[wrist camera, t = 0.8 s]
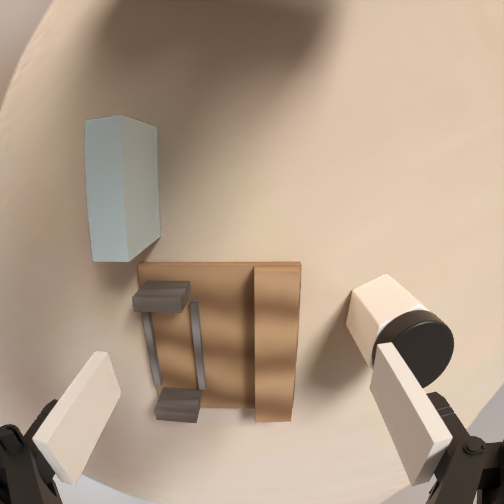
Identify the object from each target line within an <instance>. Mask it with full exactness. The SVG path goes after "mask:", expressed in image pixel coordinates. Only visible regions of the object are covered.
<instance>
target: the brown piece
mask: <svg viewBox="0 0 504 504" xmlns="http://www.w3.org/2000/svg"><path fill="white" fill-rule="evenodd" d="M137 268H138V276H139V285H140V289H139V290H138V291H137V292H136V294H135V295H134V296H133V297H132V301H133V308H134V311H139V312H142V318H143V324H144V330H145V336H146V342H147V348H148V353H149V358H150V364H151V369H152V374H153V378H154V383H155V386H156V387H157V391H158V395H159V400H158V403H157V406H156V408H155V415H156V419H157V420H166V421H176V422H189V423H197V418H198V413H199V409H200V407H214V408H255V422H288V421H291V414H292V407H293V399H294V387H295V374H296V360H297V345H298V328H299V310H300V288H301V263H300V262H141V263H139V264H138V265H137Z"/></svg>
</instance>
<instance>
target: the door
mask: <svg viewBox="0 0 504 504" xmlns="http://www.w3.org/2000/svg"><path fill="white" fill-rule="evenodd" d="M85 178H86V196H87V210H88V222H89V232H90V241H91V249H92V257H93V262H129V261H131V260H132V259H133V258H134V257H136V256H137V255H138V254H139V253H141V252H142V251H143V250H144V249H146V248H147V247H148V246H149V245H151V244H152V243H153V242H155V241H156V240H157V239H158V238H160V237H161V225H160V208H159V186H158V147H157V127H155V126H152V125H150V124H147V123H144V122H142V121H139V120H136V119H133V118H131V117H128V116H125V115H122V114H121V115H115V116H108V117H102V118H96V119H91V120H85Z"/></svg>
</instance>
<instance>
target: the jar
mask: <svg viewBox="0 0 504 504" xmlns="http://www.w3.org/2000/svg"><path fill="white" fill-rule="evenodd" d="M346 326H347V328H348V329H349V331H350V333H351V335H352V337H353V339H354V341H355V343H356V344H357V346H358V348H359V350H360V352H361V354H362V356H363V358H364V360H365V362H366V363H367V365H368V367H370V368H372V369H373V368H374V362H375V356H376V350H377V344H383V343H391V342H392V344H393V345H394V347H395V348H396V349H397V351H398V352H399V354H400V355H401V357H402V358H403V360H404V361H405V363H406V364H407V366H408V367H409V369H410V370H411V372H412V373H413V375H414V376H415V378H416V379H417V381H418V383H419V384H420V386H421V387H422V389H423V388H425V387H426V386H428V385H429V384H431V383H432V382H433V381H435V380H436V379H437V378H438V377H439V376H440V375H441V374H442V372H443V371H444V370H445V368H446V367H447V365H448V363H449V362H450V359H451V357H452V354H453V349H454V338H453V334H452V332H451V330H450V329H449V327H448V326H447V325H446V324H445V323H444V322H443V321H441V320H440V319H439V318H438V317H437V316H436V315H435V314H433V313H432V312H431V311H430V310H429V309H428V308H427V307H426V306H425V305H423V304H422V303H421V302H420V301H419V300H418V299H417V298H416V297H415V296H414V295H412V294H411V293H410V292H409V291H408V290H407V289H405V288H404V287H403V286H402V285H400V284H399V283H398V282H397V281H395V280H394V279H393V278H391V277H390V276H389V275H388V274H384V275H382V276H380V277H378V278H376V279H374V280H372V281H370V282H368V283H366V284H364V285H361V286H359V287H357V288H355V289H353V290H352V295H351V300H350V305H349V310H348V315H347V320H346Z"/></svg>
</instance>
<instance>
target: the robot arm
mask: <svg viewBox="0 0 504 504" xmlns="http://www.w3.org/2000/svg"><path fill="white" fill-rule="evenodd" d="M370 390H371V392H372V394H373V396H374V399H375V401H376V403H377V405H378V407H379V410H380V412H381V414H382V416H383V419H384V421H385V423H386V426H387V428H388V430H389V433H390V435H391V437H392V440H393V442H394V444H395V447H396V449H397V451H398V454H399V456H400V458H401V461H402V463H403V466H404V468H405V471H406V473H407V475H408V478H409V480H410V483H411V485H412V486H415V485H419V484H422V483H425V482H428V481H429V480H430V479H431V477H432V475H433V474H435V476H436V478H437V481H436V483H435V484H434V486H433V487H432V489H431V491H430V492H429V494H430V496H429V498H428V500H427V502H426V504H473V501H474V498H475V495H476V491H477V504H504V440H503V442H496V443H485V442H484V441H483V440H482V439H481V438H478V437H475V436H470V435H469V434H468V432H467V431H466V429H465V428H464V426H463V424H462V423H461V421H460V420H459V418H458V417H457V415H456V414H454V411H453V410H452V408H451V407H450V405H449V404H448V402H447V401H446V399H445V398H444V397H443V396H441V395H440V394H438V393H437V392H432V393H428V394H426V393H425V392H424V390H423V389H422V387H421V386H420V384H419V383H418V381H417V379H416V378H415V376H414V375H413V373H412V372H411V370H410V369H409V367H408V366H407V364H406V363H405V361H404V360H403V358H402V357H401V355H400V354H399V352H398V351H397V349H396V348H395V347H394V345H393V344H392V342H391V343H383V344H377V350H376V356H375V362H374V368H373V374H372V379H371V385H370ZM120 396H121V391H120V388H119V385H118V382H117V379H116V376H115V373H114V370H113V367H112V363H111V360H110V357H109V353H108V352H101V351H95V352H94V354H93V355H92V356H91V357H90V359H89V360H88V361H87V363H86V364H85V365H84V367H83V368H82V369H81V371H80V372H79V373H78V375H77V376H76V377H75V379H74V380H73V381H72V383H71V384H70V386H69V387H68V388H67V390H66V391H65V392H64V394H63V395H62V397H61V398H60V399H59V400H55V399H54V400H53V401H51V402H50V403H49V404H47V405H46V406H45V407H44V409H43V410H42V411H41V414H39V416H38V417H37V420H35V421H34V423H33V424H32V425H31V427H30V428H29V429H28V431H27V432H26V434H25V435H24V437H23V435H22V433H21V432H20V430H19V428H18V427H16V426H15V425H11V424H9V425H4V426H1V427H0V504H63V503H62V501H61V498H60V495H59V493H58V490H57V487H56V484H55V482H54V480H53V479H52V478H53V476H54V475H55V474H56V475H57V476H58V478H59V479H60V480H61V481H62V482H65V483H68V484H72V485H75V486H76V484H77V482H78V480H79V478H80V475H81V473H82V471H83V469H84V467H85V465H86V463H87V461H88V459H89V457H90V455H91V453H92V451H93V449H94V447H95V445H96V443H97V441H98V439H99V437H100V435H101V433H102V431H103V429H104V427H105V425H106V423H107V421H108V419H109V417H110V415H111V413H112V411H113V409H114V407H115V405H116V403H117V401H118V400H119V398H120Z"/></svg>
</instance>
